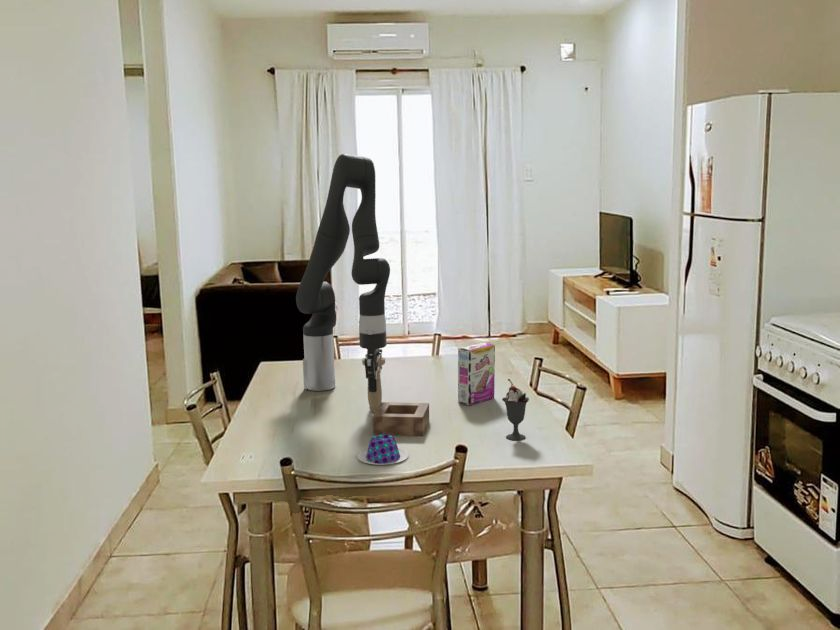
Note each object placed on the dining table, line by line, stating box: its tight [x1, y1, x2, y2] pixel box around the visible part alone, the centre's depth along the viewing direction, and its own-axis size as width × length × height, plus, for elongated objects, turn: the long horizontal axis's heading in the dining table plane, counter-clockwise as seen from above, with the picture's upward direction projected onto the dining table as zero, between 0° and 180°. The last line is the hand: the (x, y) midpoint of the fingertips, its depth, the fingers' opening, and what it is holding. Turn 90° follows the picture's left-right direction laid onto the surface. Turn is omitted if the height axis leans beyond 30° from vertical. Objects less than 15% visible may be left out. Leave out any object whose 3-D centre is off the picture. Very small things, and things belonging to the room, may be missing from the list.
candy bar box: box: [457, 342, 496, 406], centre depth 245 cm, size 11×5×16 cm, turn 135°
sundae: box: [501, 378, 530, 442], centre depth 212 cm, size 7×7×15 cm
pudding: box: [357, 434, 409, 466], centre depth 200 cm, size 12×12×5 cm
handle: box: [361, 356, 386, 413], centre depth 238 cm, size 5×6×15 cm
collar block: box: [372, 401, 430, 437], centre depth 222 cm, size 13×13×5 cm
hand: (374, 389), depth 238 cm, fingers open, 4 cm apart
